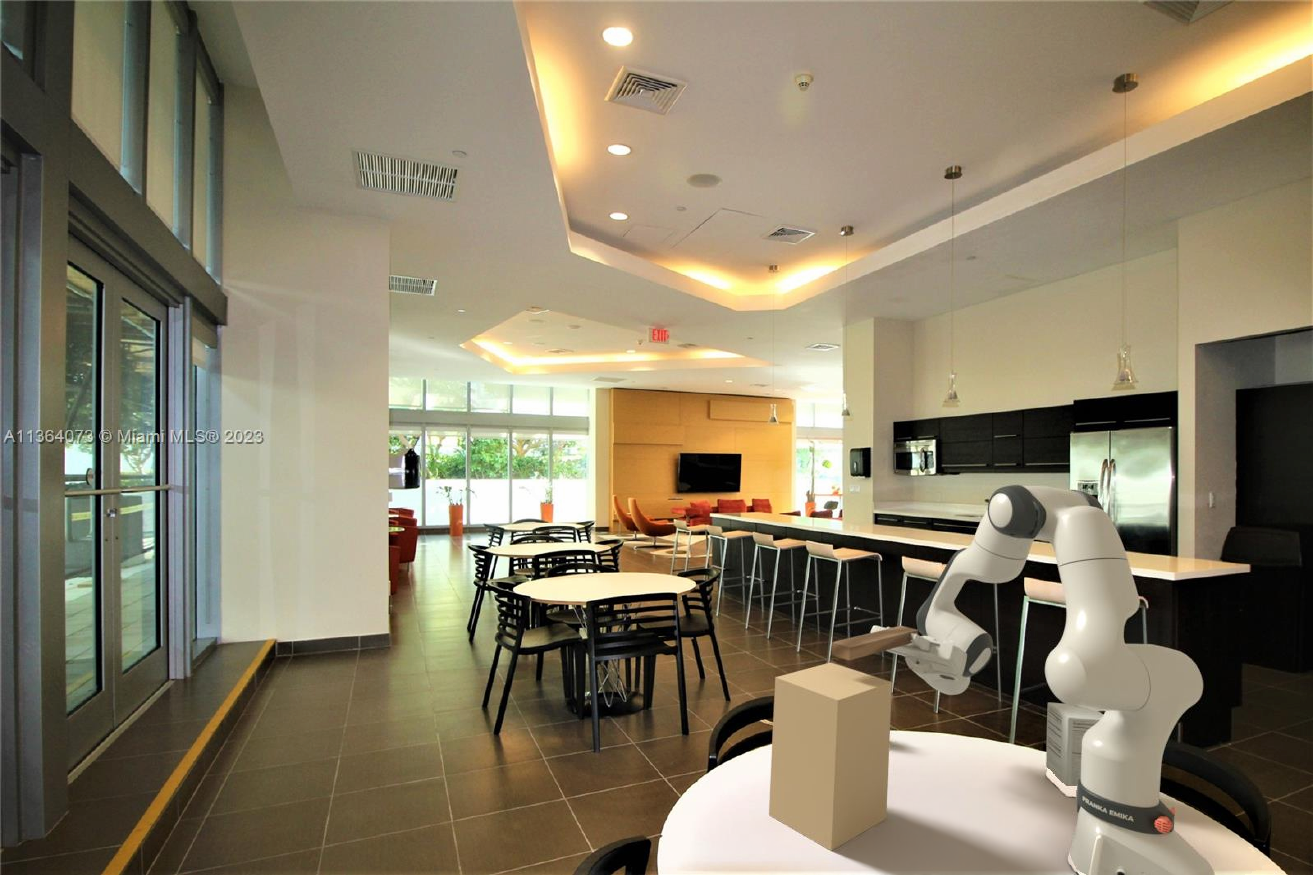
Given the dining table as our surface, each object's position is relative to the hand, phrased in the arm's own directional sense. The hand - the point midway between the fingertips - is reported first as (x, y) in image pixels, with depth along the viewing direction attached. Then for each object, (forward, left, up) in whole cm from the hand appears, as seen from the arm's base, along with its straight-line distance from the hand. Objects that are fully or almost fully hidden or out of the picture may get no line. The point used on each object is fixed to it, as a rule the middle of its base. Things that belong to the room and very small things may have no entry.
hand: (900, 633), depth 142 cm
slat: (0, +9, -2) cm, 9 cm away
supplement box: (-25, -32, -32) cm, 52 cm away
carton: (0, +24, -32) cm, 40 cm away
